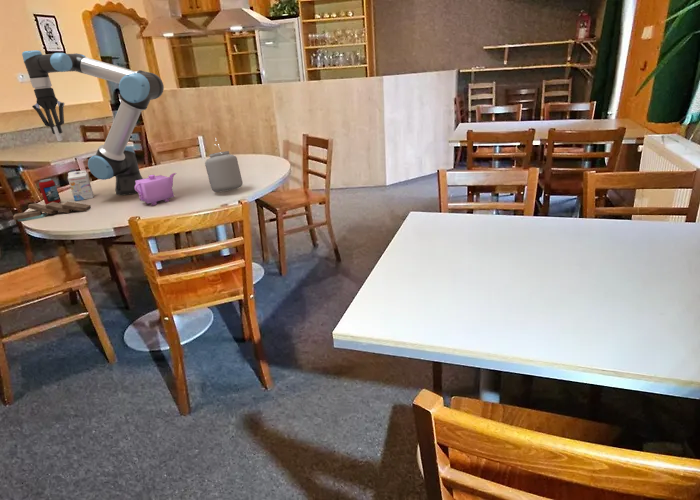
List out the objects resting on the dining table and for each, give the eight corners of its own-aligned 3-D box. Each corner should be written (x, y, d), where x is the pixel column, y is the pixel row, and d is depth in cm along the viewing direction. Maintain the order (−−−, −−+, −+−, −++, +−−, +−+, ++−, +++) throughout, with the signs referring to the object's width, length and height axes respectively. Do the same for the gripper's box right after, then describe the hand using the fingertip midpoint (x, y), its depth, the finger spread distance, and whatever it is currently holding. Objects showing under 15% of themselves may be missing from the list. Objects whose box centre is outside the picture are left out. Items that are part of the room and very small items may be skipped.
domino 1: (41, 209, 204) (15, 214, 200) (39, 211, 200) (13, 216, 196) (42, 212, 205) (16, 217, 201) (40, 215, 200) (14, 220, 196)
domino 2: (46, 212, 205) (21, 215, 202) (42, 215, 200) (17, 219, 198) (47, 215, 205) (22, 219, 203) (43, 218, 201) (18, 222, 198)
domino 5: (90, 205, 208) (67, 201, 207) (85, 208, 203) (61, 204, 202) (90, 208, 209) (67, 204, 207) (85, 211, 204) (62, 208, 203)
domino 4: (75, 206, 207) (52, 201, 206) (68, 209, 203) (45, 204, 202) (75, 210, 208) (52, 205, 207) (68, 213, 203) (45, 208, 202)
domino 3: (58, 209, 206) (35, 203, 205) (51, 210, 201) (28, 204, 200) (57, 212, 206) (35, 206, 205) (51, 214, 201) (28, 207, 200)
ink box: (74, 201, 224) (65, 174, 219) (75, 197, 231) (66, 172, 226) (93, 197, 228) (85, 171, 222) (94, 194, 235) (86, 169, 229)
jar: (207, 190, 221) (196, 138, 212) (236, 184, 228) (227, 134, 218) (216, 198, 206) (205, 142, 196) (247, 191, 212) (238, 137, 203)
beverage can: (54, 205, 219) (45, 181, 214) (42, 206, 220) (33, 182, 216) (64, 201, 225) (56, 178, 220) (53, 202, 227) (45, 178, 222)
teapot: (143, 208, 200) (136, 180, 195) (135, 204, 207) (128, 178, 202) (186, 197, 213) (180, 170, 208) (177, 194, 220) (171, 168, 215)
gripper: (61, 86, 209) (77, 138, 218) (29, 89, 206) (47, 141, 215) (56, 86, 202) (73, 140, 212) (23, 89, 199) (42, 143, 209)
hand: (60, 140), depth 213 cm, fingers closed
